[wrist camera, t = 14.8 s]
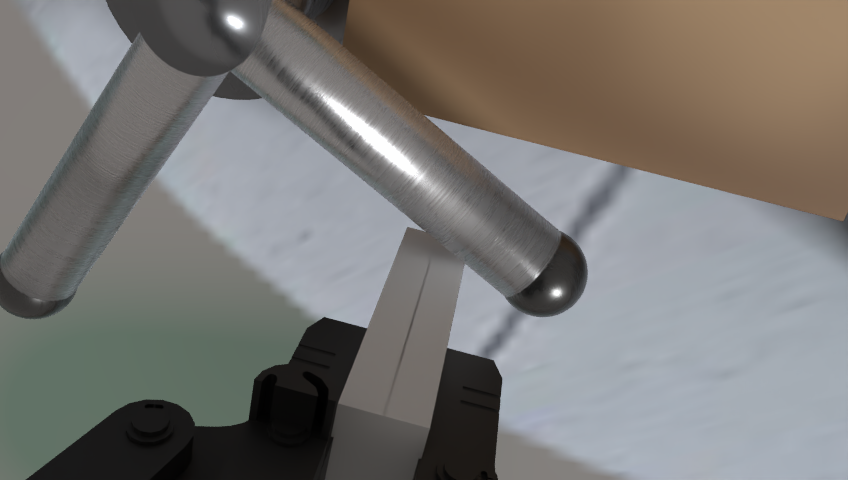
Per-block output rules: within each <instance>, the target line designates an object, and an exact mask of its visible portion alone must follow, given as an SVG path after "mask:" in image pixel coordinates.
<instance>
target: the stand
mask: <svg viewBox="0 0 848 480" xmlns="http://www.w3.org/2000/svg"><path fill="white" fill-rule="evenodd" d="M342 46H343V47H345V48H346V49H347V50H348V51H349V52H350V53H352V54H353V55H354V56H355V57H356V58H357V59H359V60H360V61H361V62H362V63H363V64H364V65H366V66H367V67H368V68H369V69H370V70H371V71H373V72H374V73H375V74H376V75H377V76H378V77H380V78H381V79H382V80H383V81H384V82H386V83H387V84H388V85H389V86H390V87H391V88H393V89H394V90H395V91H396V92H397V93H398V94H400V95H401V96H402V97H403V98H404V99H405V100H407V101H408V102H409V103H410V104H411V105H412V106H414V107H415V108H416V109H417V110H418V111H419V112H421V113H422V114H423V115H426V116H430V117H434V118H438V119H442V120H446V121H450V122H454V123H458V124H462V125H466V126H470V127H474V128H478V129H481V130H485V131H489V132H493V133H497V134H501V135H505V136H509V137H513V138H517V139H521V140H525V141H529V142H533V143H537V144H541V145H544V146H548V147H552V148H556V149H560V150H564V151H568V152H572V153H576V154H580V155H584V156H588V157H592V158H596V159H600V160H603V161H607V162H611V163H615V164H619V165H623V166H627V167H631V168H635V169H639V170H643V171H647V172H651V173H655V174H659V175H662V176H666V177H670V178H674V179H678V180H682V181H686V182H690V183H694V184H698V185H702V186H706V187H710V188H714V189H718V190H722V191H725V192H729V193H733V194H737V195H741V196H745V197H749V198H753V199H757V200H761V201H765V202H769V203H773V204H777V205H781V206H784V207H788V208H792V209H796V210H800V211H804V212H808V213H812V214H816V215H820V216H824V217H828V218H832V219H836V220H840V221H844V219H845V217H846V215H847V213H848V0H349V6H348V13H347V19H346V25H345V31H344V37H343V43H342Z"/></svg>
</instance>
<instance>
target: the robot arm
mask: <svg viewBox="0 0 848 480" xmlns="http://www.w3.org/2000/svg"><path fill="white" fill-rule="evenodd" d="M464 264H465V263H463V262H462V261H461V260H460V259H459V258H457V257H456V256H455V255H454V254H453V253H451V252H450V251H449V250H448V249H446V248H445V247H444V246H443V245H442V244H440V243H439V242H438V241H437V240H435V239H434V238H433V237H432V236H431V235H429V234H428V233H427V232H424V231H421V230H417V229H413V228H409V227H407V230H406V232H405V235H404V237H403V240H402V242H401V245H400V247H399V250H398V252H397V255H396V257H395V260H394V263H393V265H392V268H391V270H390V273H389V275H388V278H387V280H386V283H385V285H384V288H383V290H382V293H381V295H380V298H379V301H378V303H377V306H376V308H375V311H374V313H373V316H372V318H371V321H370V323H369V326H368V328H363V327H359V326H356V325H352V324H348V323H344V322H341V321H337V320H333V319H329V318H326V317H324V318H322V319H321V320H319V321H318V322H316V323H314V324H313V325H311V326H310V327H308V328H307V330H306V332H305V333H304V335H303V337H302V339H301V341H300V343H299V345H298V347H297V348H296V350H295V352H294V354H293V356H292V359H291V360H290V362H289V364H284V365H275V366H273V367H271V368H268V369H266V370H264V371H262V372H261V373H260V374H259V375H258V377H256V378H255V379H254V385H253V393H252V400H251V407H250V414H249V420H248V421H246V422H245V423H241V424H237V425H232V426H222V427H204V426H195V423H194V421H193V419H192V417H191V415H190V413H189V412H187V411H186V410H185V409H183V408H182V407H181V406H179V405H177V404H174V403H171V402H167V401H164V400H142V401H138V402H134V403H129V404H127V405H125V406H124V407H122V408H120V409H118V410H116V411H115V412H113V413H112V414H111V415H109V416H108V417H107V418H106V419H104V420H103V421H102V422H100V423H99V424H98V425H96V426H95V427H94V428H92V429H91V430H90V431H89V432H87V433H86V434H85V435H84V436H82V437H81V438H80V439H78V440H77V441H76V442H74V443H73V444H72V445H71V446H69V447H68V448H66V449H65V450H64V451H63V452H61V453H60V454H59V455H57V456H56V457H55V458H54V459H52V460H51V461H50V462H49V463H47V464H46V465H44V466H43V467H42V468H40V469H39V470H38V471H37V472H35V473H34V474H33V475H31V476H30V477H29V478H27V479H26V480H498V478H497V474H496V473H495V455H496V443H497V432H498V421H499V410H500V397H501V387H502V377H501V375H500V373H499V371H498V369H497V367H496V365H495V362H494V360H490V359H486V358H483V357H479V356H475V355H471V354H468V353H464V352H460V351H456V350H453V349H449V348H447V345H448V340H449V335H450V331H451V326H452V321H453V317H454V312H455V307H456V302H457V298H458V293H459V288H460V283H461V279H462V274H463V269H464Z"/></svg>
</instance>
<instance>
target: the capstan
mask: <svg viewBox="0 0 848 480" xmlns="http://www.w3.org/2000/svg"><path fill="white" fill-rule="evenodd" d="M106 2H107V4H108V6H109V9H110V11H111V12H112V14H113V16H114V18H115V19H116V21H117V23H118V25H119V26H120V28H121V29H122V31H123V32H124V33H125V35H126V36H127V37H128V39H129V40H130V42H131V43H132V45H131V46H130V48H129V50H128V51H127V53H126V54H125V56H124V58H123V59H122V61H121V63H120V64H119V66H118V67H117V69H116V71H115V72H114V74H113V76H112V77H111V79H110V80H109V82H108V84H107V85H106V87H105V89H104V90H103V92H102V93H101V95H100V97H99V98H98V100H97V101H96V103H95V105H94V106H93V108H92V110H91V111H90V113H89V114H88V116H87V118H86V119H85V121H84V123H83V124H82V126H81V127H80V129H79V131H78V132H77V134H76V136H75V137H74V139H73V140H72V142H71V144H70V145H69V147H68V149H67V150H66V152H65V154H64V155H63V157H62V158H61V160H60V161H59V163H58V165H57V166H56V168H55V170H54V171H53V173H52V174H51V176H50V178H49V179H48V181H47V183H46V184H45V186H44V187H43V189H42V191H41V192H40V194H39V196H38V197H37V199H36V200H35V202H34V204H33V206H32V207H31V209H30V210H29V212H28V214H27V215H26V217H25V218H24V220H23V221H22V223H21V225H20V226H19V228H18V230H17V231H16V233H15V234H14V236H13V238H12V239H11V241H10V243H9V244H8V246H7V248H6V249H5V251H4V252H3V253H1V254H0V306H1V307H2V308H3V309H5V310H6V311H7V312H9V313H11V314H13V315H15V316H18V317H21V318H25V319H41V318H46V317H49V316H52V315H54V314H56V313H58V312H60V311H61V310H62V309H64V308H65V307H66V306H67V305H68V304H69V303H70V302H71V300H72V299H73V297H74V295H75V293H76V291H77V288H78V286H79V285H80V284H81V282H82V281H83V279H84V278H85V277H86V275H87V274H88V272H89V271H90V269H91V268H92V267H93V265H94V264H95V262H96V261H97V259H98V258H99V257H100V255H101V254H102V252H103V251H104V250H105V248H106V247H107V245H108V244H109V242H110V241H111V239H112V238H113V237H114V235H115V234H116V232H117V231H118V229H119V228H120V227H121V225H122V224H123V222H124V221H125V220H126V218H127V217H128V215H129V214H130V212H131V211H132V209H133V208H134V207H135V205H136V204H137V202H138V201H139V200H140V198H141V197H142V195H143V194H144V192H145V191H146V190H147V188H148V186H149V185H150V184H151V182H152V181H153V180H154V178H155V177H156V175H157V174H158V172H159V171H160V170H161V168H162V167H163V165H164V164H165V162H166V161H167V160H168V158H169V157H170V155H171V154H172V152H173V151H174V150H175V148H176V147H177V145H178V144H179V142H180V141H181V140H182V138H183V137H184V135H185V134H186V132H187V131H188V130H189V128H190V127H191V125H192V124H193V123H194V121H195V120H196V118H197V117H198V115H199V114H200V113H201V111H202V110H203V108H204V107H205V105H206V104H207V103H208V101H209V100H210V98H211V97H212V96H215V97H220V98H227V99H237V100H251V99H259V98H263V99H265V100H266V101H267V102H268V103H270V104H271V105H272V106H273V107H274V108H276V109H277V110H278V111H279V112H281V113H282V114H283V115H284V116H285V117H287V118H288V119H289V120H290V121H292V122H293V123H294V124H295V125H296V126H298V127H299V128H300V129H301V130H302V131H304V132H305V133H306V134H307V135H309V136H310V137H311V138H312V139H313V140H315V141H316V142H317V143H318V144H320V145H321V146H322V147H323V148H324V149H326V150H327V151H328V152H329V153H331V154H332V155H333V156H334V157H335V158H337V159H338V160H339V161H340V162H342V163H343V164H344V165H345V166H346V167H348V168H349V169H350V170H351V171H352V172H354V173H355V174H356V175H357V176H359V177H360V178H361V179H362V180H363V181H365V182H366V183H367V184H368V185H370V186H371V187H372V188H373V189H374V190H376V191H377V192H378V193H379V194H381V195H382V196H383V197H384V198H385V199H387V200H388V201H389V202H390V203H392V204H393V205H394V206H395V207H396V208H398V209H399V210H400V211H401V212H402V213H404V214H405V215H406V216H407V217H409V218H410V219H411V220H412V221H413V222H415V223H416V224H417V225H418V226H420V227H421V228H422V229H423V230H424V231H426V232H427V233H428V234H429V235H431V236H432V237H433V238H434V239H435V240H437V241H438V242H439V243H440V244H442V245H443V246H444V247H445V248H446V249H448V250H449V251H450V252H451V253H453V254H454V255H455V256H456V257H457V258H459V259H460V260H461V261H462V262H463V263H465V264H466V265H467V266H468V267H470V268H471V269H472V270H473V271H474V272H476V273H477V274H478V275H479V276H481V277H482V278H483V279H484V280H485V281H487V282H488V283H489V284H490V285H492V286H493V287H494V288H495V289H496V290H498V291H499V292H500V293H501V294H503V295H504V296H505V298H506V299H507V300H508V302H509V303H510V304H511V305H512V306H513V307H515V308H516V309H518V310H519V311H521V312H523V313H525V314H528V315H531V316H536V317H550V316H554V315H558V314H560V313H563V312H564V311H566V310H568V309H569V308H571V307H572V306H573V305H574V304H575V303H576V302H577V301H578V299H579V298H580V297H581V295H582V293H583V291H584V289H585V286H586V282H587V275H588V269H587V263H586V259H585V256H584V254H583V252H582V250H581V249H580V247H579V246H578V244H577V243H576V242H575V241H574V240H573V239H572V238H570V237H569V236H568V235H566V234H565V233H563V232H561V231H559V230H558V229H556V228H555V227H554V226H553V225H552V224H551V223H549V222H548V221H547V220H546V219H545V218H544V217H542V216H541V215H540V214H539V213H538V212H537V211H535V210H534V209H533V208H532V207H531V206H530V205H528V204H527V203H526V202H525V201H524V200H523V199H521V198H520V197H519V196H518V195H517V194H515V193H514V192H513V191H512V190H511V189H510V188H508V187H507V186H506V185H505V184H504V183H503V182H501V181H500V180H499V179H498V178H497V177H496V176H494V175H493V174H492V173H491V172H490V171H489V170H487V169H486V168H485V167H484V166H483V165H482V164H480V163H479V162H478V161H477V160H476V159H475V158H473V157H472V156H471V155H470V154H469V153H467V152H466V151H465V150H464V149H463V148H462V147H460V146H459V145H458V144H457V143H456V142H455V141H453V140H452V139H451V138H450V137H449V136H448V135H446V134H445V133H444V132H443V131H442V130H441V129H439V128H438V127H437V126H436V125H435V124H434V123H432V122H431V121H430V120H429V119H428V118H426V117H425V116H424V115H423V114H422V113H421V112H419V111H418V110H417V109H416V108H415V107H414V106H412V105H411V104H410V103H409V102H408V101H407V100H405V99H404V98H403V97H402V96H401V95H400V94H398V93H397V92H396V91H395V90H394V89H393V88H391V87H390V86H389V85H388V84H387V83H386V82H384V81H383V80H382V79H381V78H380V77H378V76H377V75H376V74H375V73H374V72H373V71H371V70H370V69H369V68H368V67H367V66H366V65H364V64H363V63H362V62H361V61H360V60H359V59H357V58H356V57H355V56H354V55H353V54H352V53H350V52H349V51H348V50H347V49H346V48H345V47H343V46H342V43H343V37H344V31H345V25H346V19H347V13H348V6H349V0H106Z"/></svg>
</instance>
